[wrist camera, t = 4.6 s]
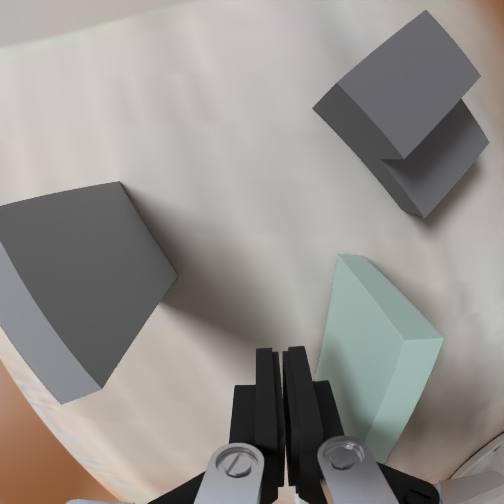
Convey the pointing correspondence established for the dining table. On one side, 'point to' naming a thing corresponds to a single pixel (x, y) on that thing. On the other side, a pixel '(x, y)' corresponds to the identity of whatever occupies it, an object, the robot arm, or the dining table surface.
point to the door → (374, 355)
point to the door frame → (77, 284)
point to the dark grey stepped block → (409, 114)
